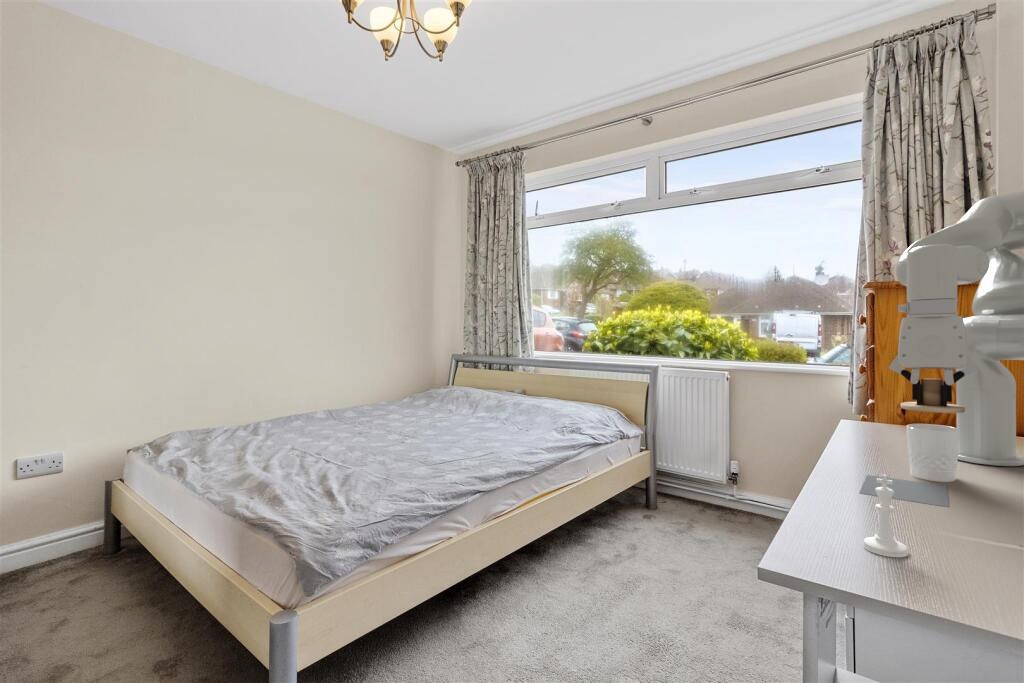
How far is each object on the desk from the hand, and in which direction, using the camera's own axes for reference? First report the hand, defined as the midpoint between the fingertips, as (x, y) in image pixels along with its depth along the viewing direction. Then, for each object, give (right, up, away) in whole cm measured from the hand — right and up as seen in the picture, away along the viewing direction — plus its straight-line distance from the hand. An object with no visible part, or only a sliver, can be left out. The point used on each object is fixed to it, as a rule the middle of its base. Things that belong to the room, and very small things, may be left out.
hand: (931, 403), depth 98 cm
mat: (-11, -15, -7) cm, 20 cm away
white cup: (0, -15, 0) cm, 15 cm away
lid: (0, -1, 0) cm, 1 cm away
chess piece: (-32, -16, -30) cm, 46 cm away
